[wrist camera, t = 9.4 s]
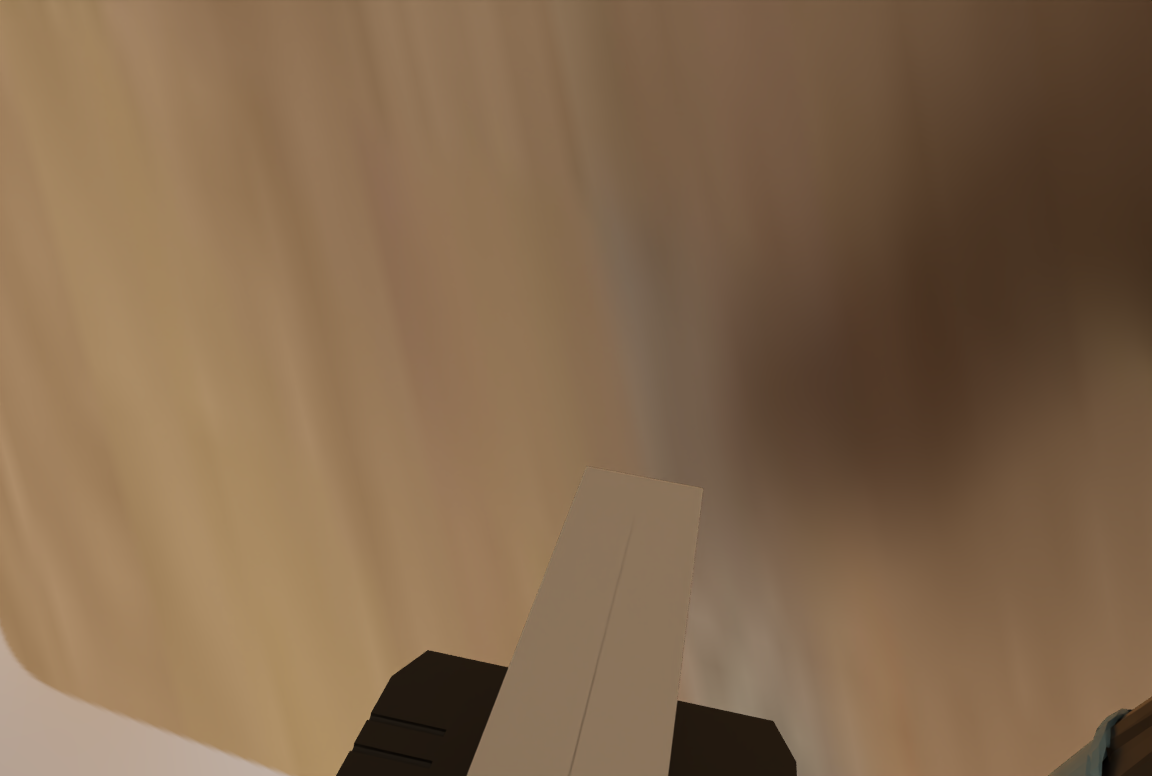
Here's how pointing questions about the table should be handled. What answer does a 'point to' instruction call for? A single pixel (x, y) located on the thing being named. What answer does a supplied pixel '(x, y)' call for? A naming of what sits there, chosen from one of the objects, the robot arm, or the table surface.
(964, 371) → the table surface
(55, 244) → the table surface
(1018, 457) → the table surface
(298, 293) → the table surface
